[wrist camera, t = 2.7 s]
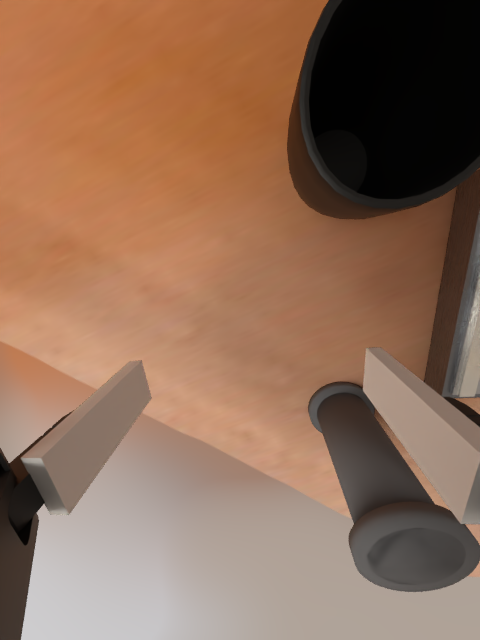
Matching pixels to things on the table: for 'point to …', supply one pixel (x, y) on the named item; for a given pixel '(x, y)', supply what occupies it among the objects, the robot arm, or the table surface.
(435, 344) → the breaker strip
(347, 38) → the mug
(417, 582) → the dark grey flanged cylinder
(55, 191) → the table surface
